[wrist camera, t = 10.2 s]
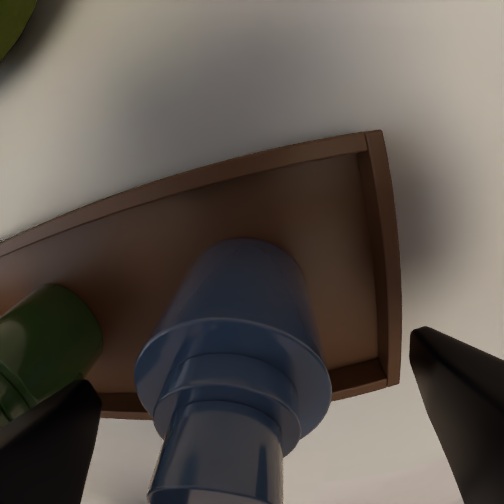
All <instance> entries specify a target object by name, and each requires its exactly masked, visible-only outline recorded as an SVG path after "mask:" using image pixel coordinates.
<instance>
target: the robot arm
mask: <svg viewBox="0 0 504 504" xmlns="http://www.w3.org/2000/svg"><path fill="white" fill-rule="evenodd" d="M409 359H410V364H411V367H412V370H413V373H414V375H415V378H416V381H417V384H418V387H419V390H420V393H421V396H422V399H423V402H424V405H425V408H426V411H427V414H428V416H429V418H430V421H431V423H432V425H433V427H434V429H435V432H436V434H437V436H438V438H439V441H440V443H441V445H442V448H443V450H444V452H445V455H446V457H447V460H448V462H449V465H450V467H451V470H452V472H453V475H454V477H455V480H456V482H457V485H458V488H459V490H460V493H461V496H462V499H463V501H464V504H504V360H502V359H499V358H497V357H495V356H493V355H490V354H488V353H486V352H484V351H481V350H479V349H477V348H475V347H472V346H470V345H468V344H466V343H464V342H461V341H459V340H457V339H455V338H452V337H450V336H448V335H446V334H443V333H441V332H439V331H437V330H434V329H432V328H430V327H427V326H424V327H421V328H418V329H414V330H413V331H412V332H411V335H410V351H409ZM101 410H102V400H101V398H100V396H99V395H98V393H97V392H96V390H95V389H94V387H93V386H92V384H91V383H90V382H89V381H88V380H86V379H77V380H75V381H73V382H71V383H70V384H68V385H67V386H65V387H64V388H62V389H61V390H59V391H58V392H56V393H54V394H53V395H51V396H50V397H48V398H47V399H45V400H44V401H42V402H40V403H39V404H37V405H36V406H34V407H33V408H31V409H29V410H28V411H26V412H25V413H23V414H22V415H20V416H18V417H17V418H15V419H14V420H12V421H11V422H9V423H7V424H6V425H4V426H3V427H1V428H0V504H80V503H81V498H82V494H83V490H84V485H85V481H86V477H87V473H88V469H89V465H90V462H91V458H92V454H93V450H94V446H95V441H96V436H97V431H98V425H99V420H100V415H101Z"/></svg>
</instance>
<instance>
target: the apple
mask: <svg viewBox="0 0 504 504" xmlns="http://www.w3.org/2000/svg"><path fill="white" fill-rule="evenodd" d="M36 1H37V0H0V62H1V60H2V59H3V58H4V56H5V55H6V54H7V53H8V51H9V50H10V49H11V48H12V46H13V45H14V43H15V42H16V41H17V39H18V38H19V36H20V35H21V33H22V31H23V29H24V27H25V25H26V24H27V22H28V20H29V18H30V16H31V14H32V12H33V11H34V9H35V5H36Z"/></svg>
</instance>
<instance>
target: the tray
mask: <svg viewBox="0 0 504 504" xmlns="http://www.w3.org/2000/svg"><path fill="white" fill-rule="evenodd" d="M235 238H253V239H259V240H263V241H266V242H269V243H272V244H274V245H276V246H278V247H279V248H281V249H282V250H284V251H285V252H287V253H288V254H289V255H290V256H291V257H292V258H293V259H294V260H295V261H296V262H297V264H298V265H299V266H300V268H301V270H302V271H303V274H304V276H305V278H306V282H307V286H308V289H309V293H310V297H311V301H312V305H313V309H314V312H315V316H316V320H317V324H318V328H319V332H320V336H321V340H322V345H323V349H324V353H325V357H326V361H327V366H328V370H329V374H330V379H331V383H332V397H331V401H336V400H340V399H344V398H349V397H353V396H357V395H361V394H365V393H369V392H372V391H376V390H380V389H383V388H386V387H390V386H393V385H397V384H399V380H400V365H401V341H402V292H401V268H400V252H399V240H398V229H397V219H396V211H395V203H394V195H393V188H392V181H391V175H390V169H389V163H388V157H387V152H386V147H385V142H384V137H383V132H382V130H373V131H365V132H359V133H352V134H346V135H340V136H334V137H329V138H323V139H318V140H313V141H308V142H302V143H298V144H293V145H288V146H283V147H279V148H274V149H270V150H266V151H261V152H257V153H253V154H249V155H245V156H241V157H237V158H233V159H229V160H225V161H221V162H218V163H214V164H210V165H207V166H203V167H200V168H196V169H193V170H189V171H186V172H182V173H179V174H176V175H173V176H169V177H166V178H163V179H160V180H157V181H154V182H151V183H147V184H144V185H141V186H139V187H136V188H133V189H130V190H127V191H124V192H121V193H118V194H116V195H113V196H110V197H107V198H105V199H102V200H99V201H97V202H94V203H91V204H89V205H86V206H84V207H81V208H78V209H76V210H73V211H71V212H69V213H66V214H64V215H61V216H59V217H56V218H54V219H52V220H49V221H47V222H45V223H42V224H40V225H38V226H36V227H33V228H31V229H29V230H27V231H25V232H22V233H20V234H18V235H16V236H14V237H12V238H10V239H8V240H6V241H4V242H1V243H0V316H1V315H2V314H4V313H5V312H6V311H7V310H9V309H10V308H11V307H12V306H14V305H15V304H16V303H17V302H19V301H20V300H21V299H23V298H24V297H25V296H26V295H28V294H29V293H30V292H32V291H33V290H34V289H36V288H37V287H39V286H40V285H43V284H57V285H60V286H63V287H65V288H67V289H69V290H70V291H72V292H73V293H74V294H76V295H77V296H78V297H79V298H80V299H81V300H83V302H84V303H85V304H86V305H87V306H88V307H89V309H90V310H91V311H92V313H93V314H94V316H95V318H96V319H97V321H98V323H99V326H100V328H101V331H102V335H103V351H102V354H101V356H100V358H99V359H98V361H97V362H96V363H95V365H94V366H93V368H92V369H91V371H90V372H89V374H88V375H87V376H86V378H85V379H86V380H88V381H89V382H90V383H91V384H92V386H93V387H94V389H95V390H96V392H97V393H98V395H99V396H100V398H101V400H102V410H101V415H100V418H115V419H137V420H153V418H152V417H151V416H150V415H149V413H148V412H147V411H146V409H145V408H144V407H143V405H142V403H141V401H140V399H139V397H138V394H137V392H136V388H135V383H134V368H135V362H136V360H137V357H138V354H139V353H140V351H141V349H142V347H143V346H144V344H145V342H146V340H147V339H148V337H149V335H150V333H151V332H152V330H153V328H154V327H155V325H156V323H157V322H158V320H159V318H160V316H161V315H162V313H163V311H164V310H165V308H166V306H167V305H168V303H169V301H170V300H171V298H172V296H173V295H174V293H175V291H176V290H177V288H178V286H179V285H180V283H181V281H182V280H183V278H184V277H185V275H186V273H187V272H188V270H189V268H190V267H191V265H192V264H193V262H194V261H195V260H196V259H197V257H198V256H199V255H200V254H201V253H203V252H204V251H205V250H206V249H208V248H210V247H211V246H213V245H215V244H217V243H219V242H222V241H225V240H229V239H235Z"/></svg>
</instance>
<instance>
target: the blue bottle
mask: <svg viewBox="0 0 504 504" xmlns="http://www.w3.org/2000/svg"><path fill="white" fill-rule="evenodd" d="M134 383H135V388H136V392H137V394H138V397H139V399H140V401H141V403H142V405H143V407H144V408H145V409H146V411H147V412H148V413H149V415H150V416H151V417H152V418H153V422H154V426H155V428H156V430H157V432H158V434H159V435H160V437H161V438H162V439H163V440H164V441H163V444H162V447H161V450H160V453H159V456H158V460H157V463H156V466H155V469H154V472H153V475H152V479H151V482H150V485H149V488H148V491H147V500H148V502H149V503H150V504H283V457H285V456H287V455H288V454H289V453H290V452H291V451H292V450H293V449H294V448H295V447H296V445H297V443H298V442H299V440H300V439H302V438H303V437H305V436H306V435H308V434H309V433H310V432H311V431H313V430H314V429H315V428H316V427H317V426H318V425H319V423H320V422H321V421H322V420H323V418H324V416H325V415H326V413H327V411H328V408H329V405H330V403H331V397H332V383H331V379H330V374H329V370H328V366H327V361H326V357H325V353H324V349H323V345H322V340H321V336H320V332H319V328H318V324H317V320H316V316H315V312H314V309H313V305H312V301H311V297H310V293H309V289H308V286H307V282H306V278H305V276H304V274H303V271H302V270H301V268H300V266H299V265H298V264H297V262H296V261H295V260H294V259H293V258H292V257H291V256H290V255H289V254H288V253H287V252H285V251H284V250H282V249H281V248H279V247H278V246H276V245H274V244H272V243H269V242H266V241H263V240H259V239H253V238H235V239H229V240H225V241H222V242H219V243H217V244H215V245H213V246H211V247H210V248H208V249H206V250H205V251H204V252H203V253H201V254H200V255H199V256H198V257H197V259H196V260H195V261H194V262H193V264H192V265H191V267H190V268H189V270H188V272H187V273H186V275H185V277H184V278H183V280H182V281H181V283H180V285H179V286H178V288H177V290H176V291H175V293H174V295H173V296H172V298H171V300H170V301H169V303H168V305H167V306H166V308H165V310H164V311H163V313H162V315H161V316H160V318H159V320H158V322H157V323H156V325H155V327H154V328H153V330H152V332H151V333H150V335H149V337H148V339H147V340H146V342H145V344H144V346H143V347H142V349H141V351H140V353H139V354H138V357H137V360H136V362H135V368H134Z"/></svg>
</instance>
